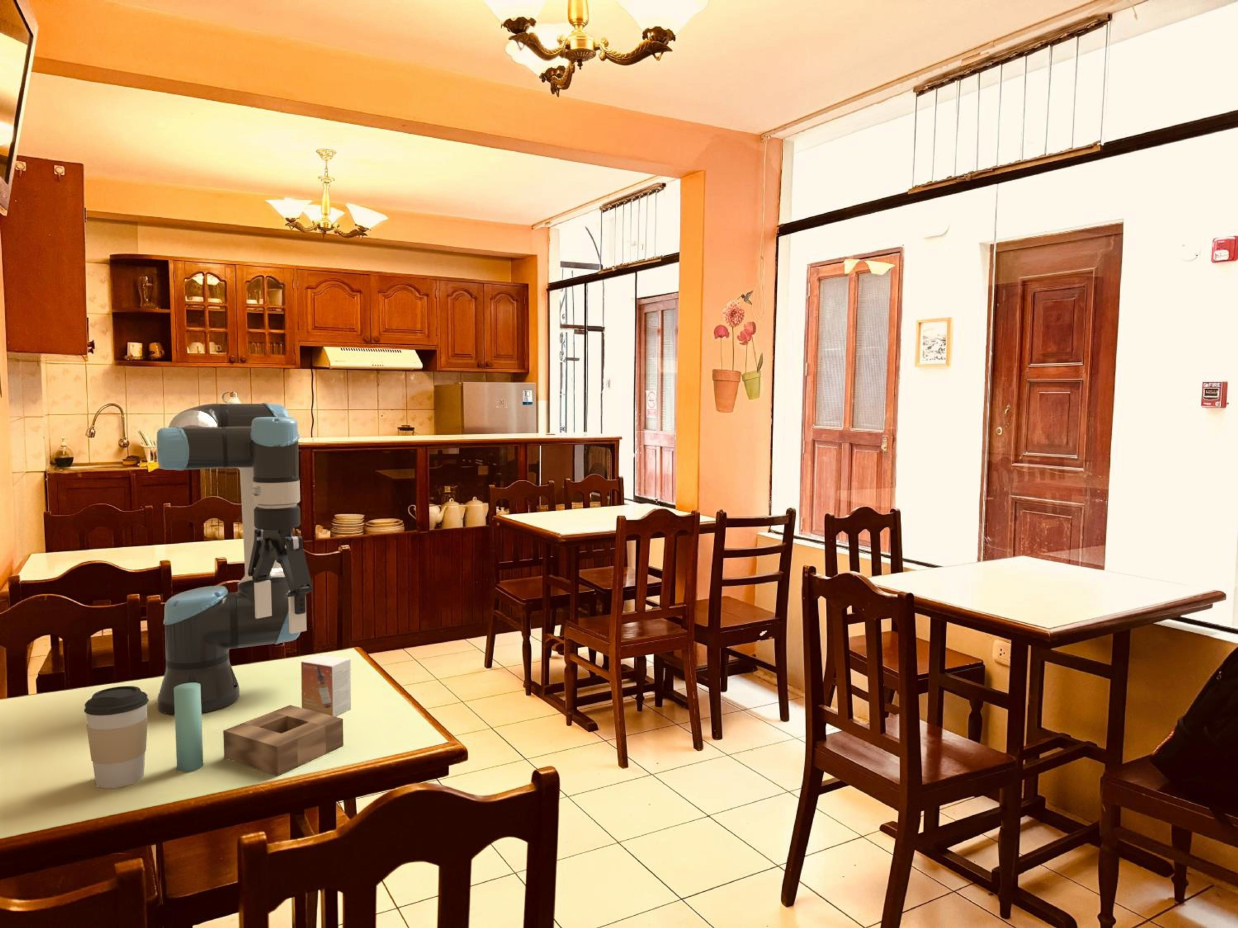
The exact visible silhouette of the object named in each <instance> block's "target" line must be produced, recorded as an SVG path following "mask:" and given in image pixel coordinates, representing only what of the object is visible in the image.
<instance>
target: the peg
mask: <svg viewBox="0 0 1238 928" xmlns="http://www.w3.org/2000/svg"><path fill="white" fill-rule="evenodd" d="M174 706H175V714H174V724H175V725H174V726H175V727H174V731H175V750H176V751H175V753H176V754H175V755H176V757H175V759H176V771H177V772H179V773H189V772H194V771H197V770H199V769H201V768H202V767H203V766H204V748H203V745H204V744H203V724H202V723H203V721H202V720H203V718H202V713H201V686H200V684H199V683H185V684H181V685H178V686H176V687H174Z"/></svg>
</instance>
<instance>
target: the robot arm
mask: <svg viewBox="0 0 1238 928" xmlns="http://www.w3.org/2000/svg"><path fill="white" fill-rule="evenodd" d="M299 439H300V434H299V429H298V421H297V419H295V417H292V416H290V414H289V412H288V410H287V408H286V407H285V406H284V405H283V404H278V403H277V404H276V403H267V402H261V403H208V404H202V405H197V406H193V407H191V408H190V407H189V408H187V409H185V410H182V411H180V412H179V413H177V414H176V415H175V416H173V418H172V419H171V421H170V423H169V425H168V427H161V428H159V429H158V430H157V432H156V453H157V454H156V455H157V456H156V457H157V464H158V467H159V468H160V469H162V470H165V471H166V470H169V471H170V470H171V471H172V470H174V471H178V472H179V471H184V470H207V469H238V470H239V478H240V494H241V497H240V498H241V517H242V518H241V519H242V521H241V522H242V538H243V556H244V557H243V560H244V575H243V577H242V578H241V580H240V581H238V583H237V591H235V592H229V591H228V589H227V587H226V586H224V585H209V586H203V587H202V586H201V587H196V588H194V589H189V590H186V591H183V592H179V593H177V594H175V595H173V596H171V597H170V598H169V599H167V600H166V602H165V604H164V617H163V618H164V619H163V625H164V636H165V637H164V638H165V639H164V640H165V643H164V644H165V672H164V676H163V679H162V683H161V686H160V689H159V693H158V694H157V709H158V711H160V712H161V713H164V714H167V715H175V706H174V687H176V686H178V685H181V684H185V683H199V684H200V686H201V714H202V713H208V712H213V711H216V710H219V709H220V710H221V709H222V708H226V707H228V706H230V705H232V704H234V703H236V702H237V700H239V698H240V684H239V682H238V680H237V677H236V675H235V672H234V670H233V667H232V665H231V663H230V662H231V661H230V650H232V649H241V648H248V647H256V646H264V645H273V644H275V645H278V644H280V643H286V642H287V643H288V642H294V641H295V640H297V638H299V636H300V634H301V633H302V632H306V631H307V630H308V629H307V597H306V596H307V594H309V593H312V592H313V591H314V587H313V583H312V580H311V574H310V571H309V567H308V562H307V558H306V553H305V550H304V542H303V541H304V540H303V536H302V535H297V536H296V535H295V536H294V535H293V530H294V529H295V528H298V527H299V526H300V525H301V507H300V506H299V505H298V504H299V503H300V502H301V488H300V487H301V486H300V485H301V484H300V482H301V481H300V476H299V473H300V472H299V470H300V469H299Z"/></svg>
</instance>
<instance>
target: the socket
mask: <svg viewBox="0 0 1238 928" xmlns="http://www.w3.org/2000/svg"><path fill="white" fill-rule="evenodd" d="M222 732H223V733H222V734H223V758H224V760H225V759H226V760H229V761H231V762H234V763H238V764H240V765H244V766H246V767H247V766H248V767H250V768H253V769H256V770H258V771H259V770H260V771H261V772H262V771H263V772H265V773H268V774H271V775H274V776H277V777H279V776H281V775H284V774H285V773H288V772H289V771H292V770H294V769H296V768H299V767H300V766H303V765H305V764H307V763H309V762H311V761H313V760H315V759H317V758H320V757H322V756H324V755H326V754H329V753H330V752H333V751H335V750H337V749H339V748H341V747H343V746H344V718H342V717H337V716H335V717H334V716H331V715H327V714H323V713H319V712H315V711H312V710H308V709H304V708H302V707H299V706H296V705H292V704H289V705H287V706H284V707H281V708H277V709H276V710H272V711H270V712H268V713H265V714H262V715H260V716H258V717H255V718H252V719H250V720H247V721H244V722H241V723H239V724H237V725H234V726H231V727H227V728H226V729H223V731H222Z"/></svg>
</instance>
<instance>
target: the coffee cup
mask: <svg viewBox="0 0 1238 928" xmlns="http://www.w3.org/2000/svg"><path fill="white" fill-rule="evenodd" d="M149 700H150V699H149V698H148V693H147V692H145V691H142V690H141V688H140V687H138V686H133V685H121V686H114V687H113V686H112V687H109V688H104V689H102V690H98V691H96V692H94V693H93V694H92V696H91V698H89V699H88V700H87V701H86V702H85V703H84V710H83V711H84V713H85V715H86V731H87V737H88V738H87V739H88V745H89V753H90V759H91V760H90V761H91V762H92V766H93V773H94V774H93V775H94V783H95V786H96V787H97V788H101V789H117V788H118V789H119V788H123V787H126V786H129V785H132V784H135V783H137V782H139V781H140V780H141V779H143V778H144V776H145V761H146V752H147V739H148V738H147V737H148V717H149V716H148V715H149V714H148V712H147V711H148V703H149V702H150V701H149Z"/></svg>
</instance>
